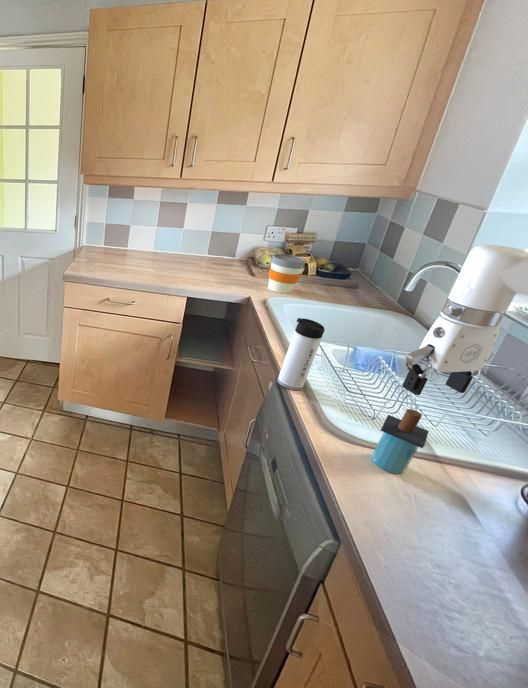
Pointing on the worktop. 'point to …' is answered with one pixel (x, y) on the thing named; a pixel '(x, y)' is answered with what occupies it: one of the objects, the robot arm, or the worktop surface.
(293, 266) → the reusable coffee cup
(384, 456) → the cup
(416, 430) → the dark grey flat slab
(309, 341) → the travel mug
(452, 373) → the robot arm
